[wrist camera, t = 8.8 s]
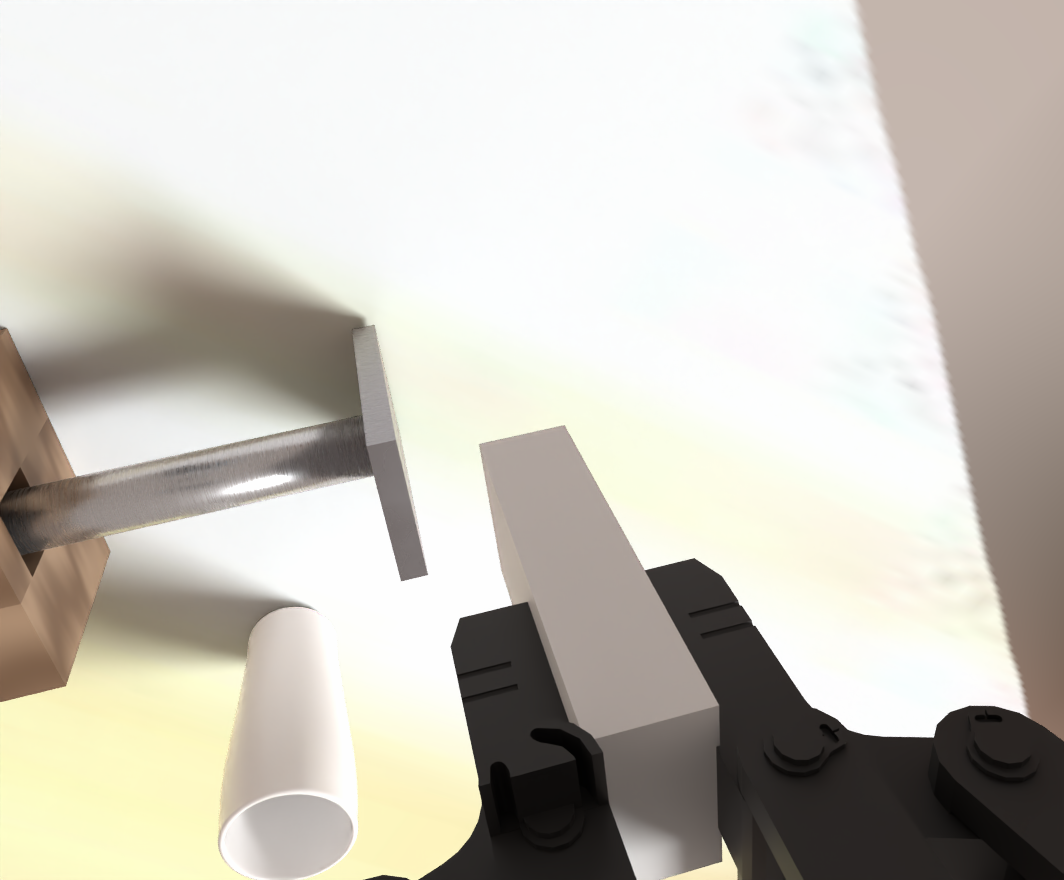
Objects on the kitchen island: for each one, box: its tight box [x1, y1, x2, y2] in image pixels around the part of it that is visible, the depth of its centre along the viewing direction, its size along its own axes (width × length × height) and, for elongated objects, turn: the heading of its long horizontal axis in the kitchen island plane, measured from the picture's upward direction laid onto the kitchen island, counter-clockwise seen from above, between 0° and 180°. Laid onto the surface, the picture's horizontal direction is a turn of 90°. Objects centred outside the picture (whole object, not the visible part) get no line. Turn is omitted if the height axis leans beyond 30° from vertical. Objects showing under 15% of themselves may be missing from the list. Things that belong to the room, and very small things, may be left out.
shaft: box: [0, 325, 428, 581], centre depth 41 cm, size 7×24×13 cm, turn 97°
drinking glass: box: [218, 607, 358, 880], centre depth 49 cm, size 7×7×15 cm
